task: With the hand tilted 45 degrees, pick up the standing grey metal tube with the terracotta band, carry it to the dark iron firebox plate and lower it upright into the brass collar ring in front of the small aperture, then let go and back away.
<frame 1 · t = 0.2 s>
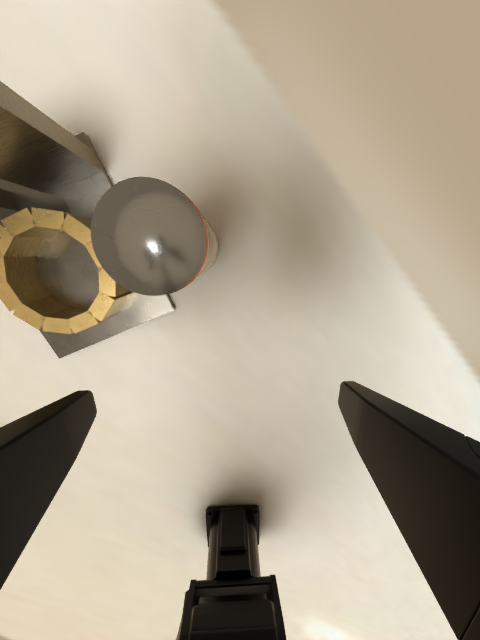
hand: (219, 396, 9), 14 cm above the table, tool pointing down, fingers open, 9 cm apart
collar stand: (81, 271, 21), on the table
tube: (192, 246, 21), on the table
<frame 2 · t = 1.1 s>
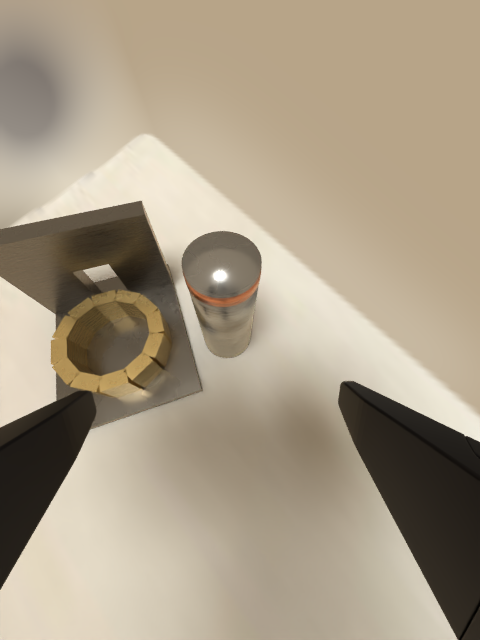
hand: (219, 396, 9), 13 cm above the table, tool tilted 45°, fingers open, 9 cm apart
collar stand: (126, 349, 23), on the table
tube: (227, 336, 24), on the table
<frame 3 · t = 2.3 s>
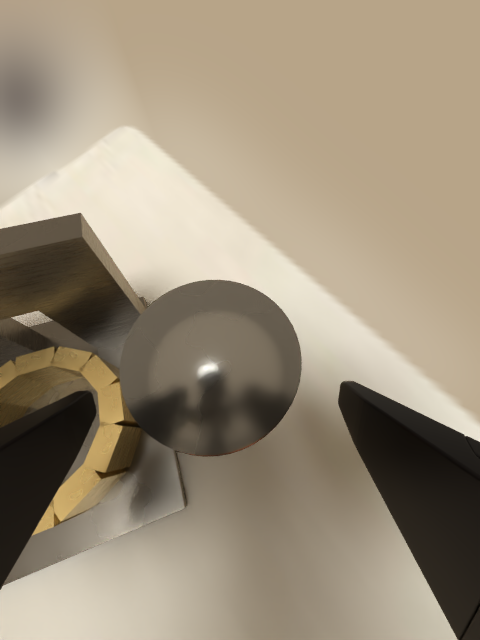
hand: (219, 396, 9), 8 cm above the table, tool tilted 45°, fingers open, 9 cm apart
collar stand: (74, 432, 15), on the table
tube: (226, 407, 16), on the table
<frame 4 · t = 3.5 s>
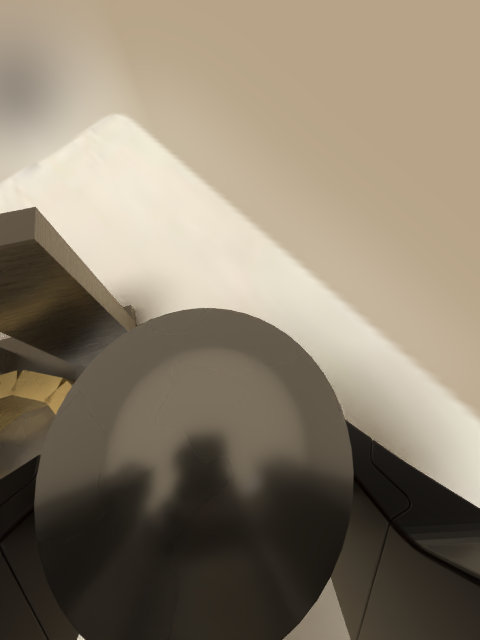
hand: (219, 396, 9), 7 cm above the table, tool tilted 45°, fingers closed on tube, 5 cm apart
collar stand: (45, 469, 13), on the table
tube: (225, 438, 14), on the table, touching gripper
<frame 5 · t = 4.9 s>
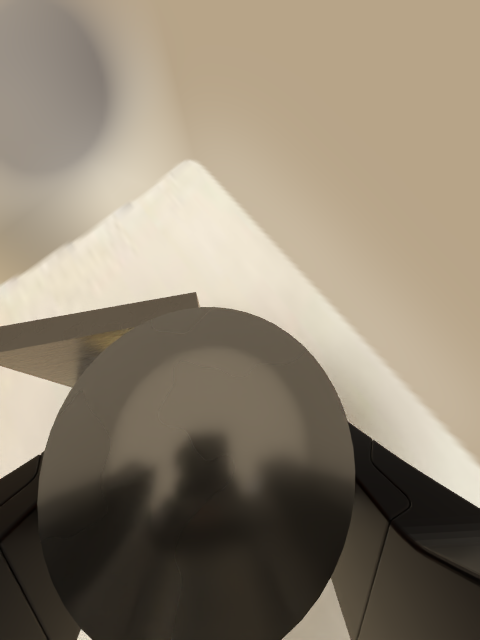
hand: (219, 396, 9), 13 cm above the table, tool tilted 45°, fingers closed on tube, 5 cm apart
collar stand: (152, 444, 19), on the table
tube: (226, 438, 14), point 6 cm above the table, touching gripper
when the fingers open (8 cm above the table, at t = 6.6 s): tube stays where it is, resting on collar stand.
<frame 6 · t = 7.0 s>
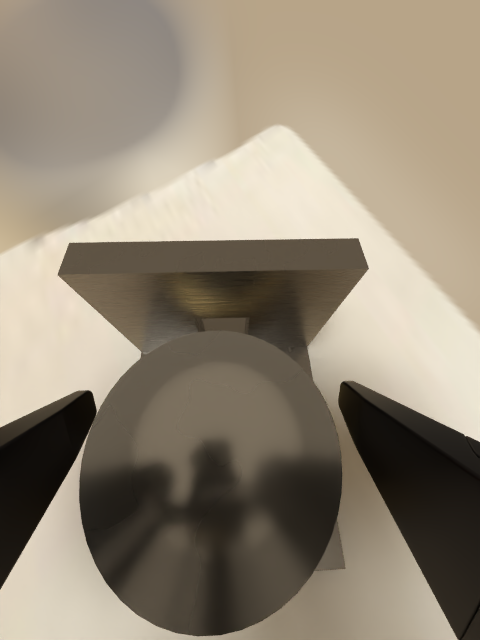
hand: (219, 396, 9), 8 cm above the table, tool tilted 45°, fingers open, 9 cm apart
collar stand: (226, 438, 15), on the table
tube: (226, 439, 15), point 1 cm above the table, touching collar stand
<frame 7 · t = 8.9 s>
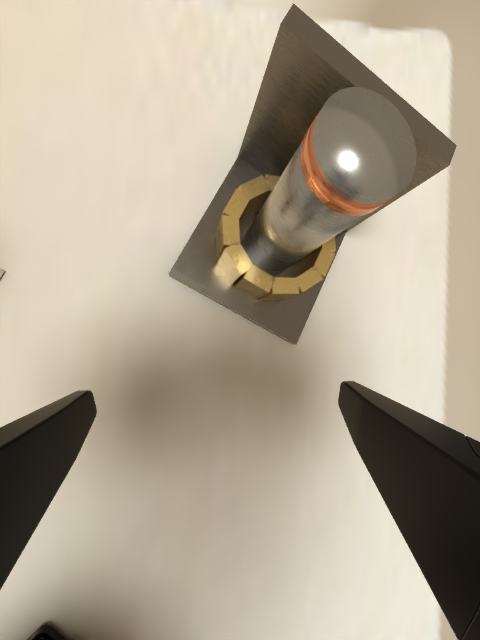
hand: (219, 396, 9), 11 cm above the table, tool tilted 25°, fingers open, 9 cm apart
collar stand: (265, 251, 21), on the table
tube: (267, 249, 21), point 1 cm above the table, touching collar stand
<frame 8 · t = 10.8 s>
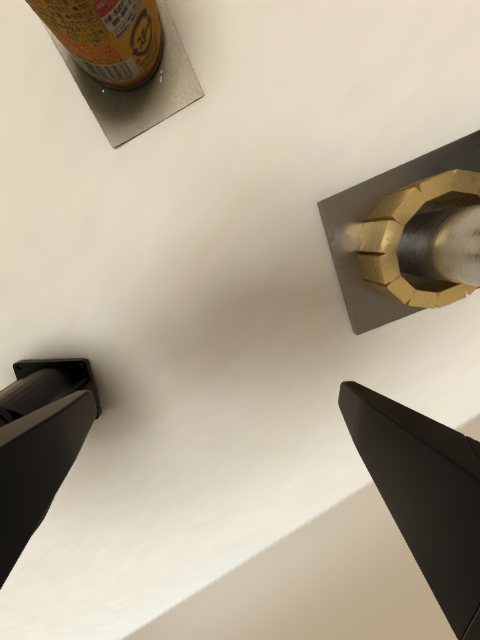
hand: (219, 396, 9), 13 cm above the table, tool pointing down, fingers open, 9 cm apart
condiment: (124, 54, 16), on the table
collar stand: (407, 244, 20), on the table
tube: (412, 244, 19), point 1 cm above the table, touching collar stand
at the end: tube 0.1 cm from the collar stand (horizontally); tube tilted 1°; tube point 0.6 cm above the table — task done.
